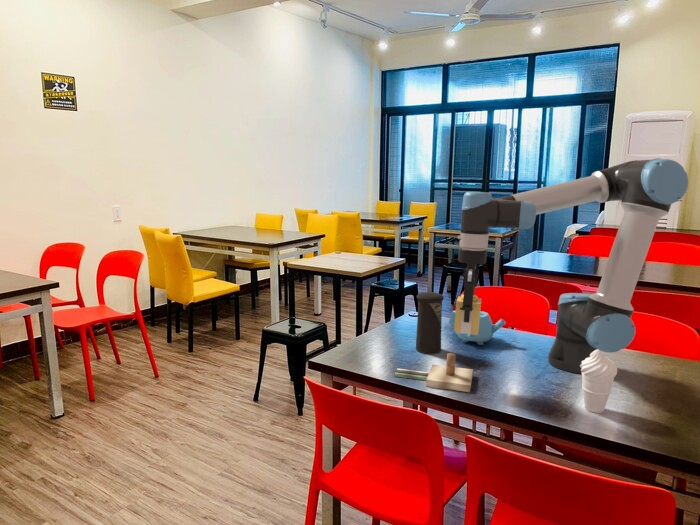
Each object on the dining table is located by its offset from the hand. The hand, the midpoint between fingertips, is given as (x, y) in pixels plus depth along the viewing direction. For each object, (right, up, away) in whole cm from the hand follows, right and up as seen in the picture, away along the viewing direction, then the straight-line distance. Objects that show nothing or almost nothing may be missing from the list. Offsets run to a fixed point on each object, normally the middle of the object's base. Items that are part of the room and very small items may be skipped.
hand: (466, 329), depth 137 cm
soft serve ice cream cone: (+29, -19, -13) cm, 37 cm away
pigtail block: (-9, -15, +5) cm, 18 cm away
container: (-6, -11, +29) cm, 32 cm away
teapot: (+13, -10, +40) cm, 43 cm away
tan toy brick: (0, 0, 0) cm, 0 cm away
